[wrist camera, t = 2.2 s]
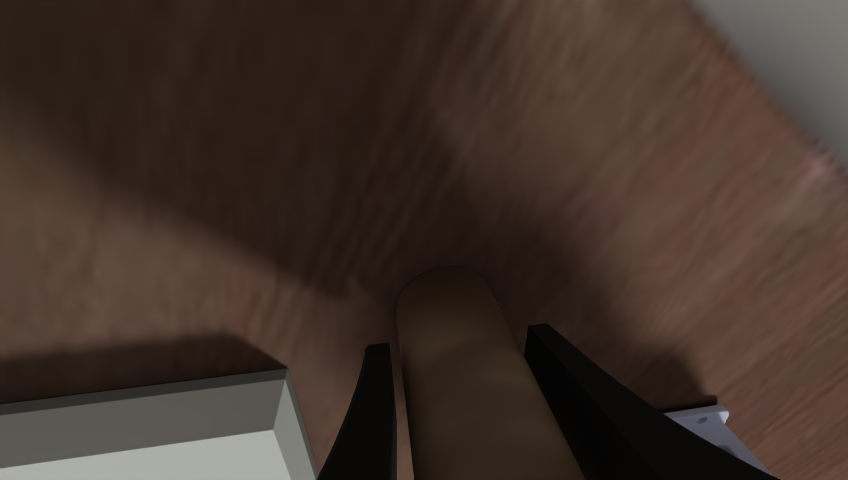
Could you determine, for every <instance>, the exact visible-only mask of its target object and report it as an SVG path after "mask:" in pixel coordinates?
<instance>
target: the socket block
mask: <svg viewBox="0 0 848 480" xmlns="http://www.w3.org/2000/svg"><path fill="white" fill-rule="evenodd" d="M318 476H319V474H318V471H317V467H316V464H315V461H314V457H313V454H312V450H311V447H310V443H309V440H308V437H307V433H306V430H305V426H304V423H303V419H302V416H301V413H300V409H299V406H298V402H297V399H296V395H295V392H294V388H293V385H292V382H291V378H290V375H289V371H288V368H287V369H279V370H271V371H263V372H255V373H247V374H239V375H231V376H223V377H215V378H207V379H199V380H191V381H183V382H175V383H167V384H159V385H151V386H143V387H135V388H127V389H119V390H111V391H103V392H95V393H87V394H79V395H71V396H63V397H55V398H47V399H39V400H31V401H23V402H15V403H7V404H0V480H317V478H318Z"/></svg>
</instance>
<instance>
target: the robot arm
mask: <svg viewBox="0 0 848 480" xmlns="http://www.w3.org/2000/svg"><path fill="white" fill-rule="evenodd" d="M524 357H525V359H526V361H527V363H528V365H529V367H530V369H531V371H532V373H533V375H534V377H535V379H536V381H537V383H538V385H539V387H540V389H541V391H542V393H543V395H544V397H545V399H546V401H547V403H548V405H549V407H550V409H551V411H552V413H553V415H554V417H555V419H556V421H557V423H558V425H559V427H560V429H561V431H562V433H563V435H564V437H565V439H566V441H567V443H568V445H569V447H570V449H571V451H572V453H573V455H574V457H575V459H576V461H577V463H578V465H579V467H580V469H581V471H582V473H583V475H584V477H585V479H586V480H780V479H778V478H776V477H774V476H773V475H772V474H771V473H770V472H769V471H768V470H767V469H766V468H765V467H764V466H763V465H762V463H761V462H760V461H759V460H758V459H757V458H756V457H755V456H754V455H753V454H752V453H751V452H750V451H749V450H748V448H747V447H746V446H745V445H744V444H743V443H742V442H741V441H740V440H739V439H738V438H737V437H736V436H735V435H734V434H733V432H732V431H731V430H730V429H729V428H728V427H727V426H726V425H725V424H724V423H725V422H726V420H727V418H728V416H729V412H728V410H727V409H726V408H725V407H724V406H722V405H714V406H708V407H701V408H695V409H688V410H682V411H675V412H669V413H662V412H660V411H659V410H657V409H655V408H654V407H653V406H651V405H650V404H648V403H647V402H645V401H644V400H642V399H641V398H640V397H638V396H637V395H636V394H634V393H633V392H631V391H630V390H629V389H627V388H626V387H625V386H623V385H622V384H620V383H619V382H618V381H617V380H615V379H614V378H613V377H611V376H610V375H609V374H607V373H606V372H605V371H604V370H602V369H601V368H600V367H599V366H597V365H596V364H595V363H594V362H592V361H591V360H590V359H589V358H588V357H586V356H585V355H584V354H583V353H582V352H580V351H579V350H578V349H577V348H576V347H574V346H573V345H572V344H571V343H570V342H569V341H567V340H566V339H565V338H564V337H563V336H561V335H560V334H559V333H558V332H557V331H556V330H554V329H553V328H552V327H551V326H550V325H548V324H539V325H530V326H528V332H527V339H526V346H525V354H524ZM317 480H397V420H396V408H395V396H394V385H393V375H392V365H391V355H390V345H389V343H382V344H374V345H368V346H367V347H366V348H365V355H364V360H363V365H362V369H361V372H360V376H359V379H358V383H357V386H356V389H355V392H354V394H353V397H352V400H351V403H350V406H349V409H348V411H347V414H346V416H345V419H344V421H343V424H342V426H341V428H340V431H339V433H338V435H337V438H336V440H335V442H334V445H333V447H332V449H331V451H330V453H329V455H328V458H327V460H326V462H325V464H324V466H323V468H322V470H321V472H320V474H319V476H318V478H317Z"/></svg>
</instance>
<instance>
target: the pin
mask: <svg viewBox="0 0 848 480" xmlns="http://www.w3.org/2000/svg"><path fill="white" fill-rule="evenodd" d="M396 319H397V328H398V337H399V346H400V355H401V364H402V373H403V382H404V391H405V400H406V409H407V418H408V427H409V436H410V445H411V454H412V463H413V472H414V480H586V479H585V477H584V475H583V473H582V471H581V469H580V467H579V465H578V463H577V461H576V459H575V457H574V455H573V453H572V451H571V449H570V447H569V445H568V443H567V441H566V439H565V437H564V435H563V433H562V431H561V429H560V427H559V425H558V423H557V421H556V419H555V417H554V415H553V413H552V411H551V409H550V407H549V405H548V403H547V401H546V399H545V397H544V395H543V393H542V391H541V389H540V387H539V385H538V383H537V381H536V379H535V377H534V375H533V373H532V371H531V369H530V367H529V365H528V363H527V361H526V359H525V357H524V355H523V353H522V351H521V349H520V347H519V345H518V343H517V341H516V339H515V337H514V335H513V333H512V331H511V329H510V327H509V325H508V323H507V321H506V319H505V317H504V315H503V313H502V311H501V309H500V307H499V305H498V303H497V301H496V299H495V297H494V295H493V293H492V291H491V289H490V288H489V286H488V284H487V283H486V281H485V280H484V279H483V278H482V277H481V276H480V275H478V274H477V273H475V272H473V271H471V270H468V269H465V268H460V267H441V268H436V269H432V270H430V271H427V272H425V273H423V274H421V275H419V276H417V277H416V278H414V279H413V280H412V281H411V282H410V283H409V284H408V285H407V286H406V287H405V288H404V289H403V291H402V292H401V294H400V296H399V298H398V301H397V305H396Z"/></svg>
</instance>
